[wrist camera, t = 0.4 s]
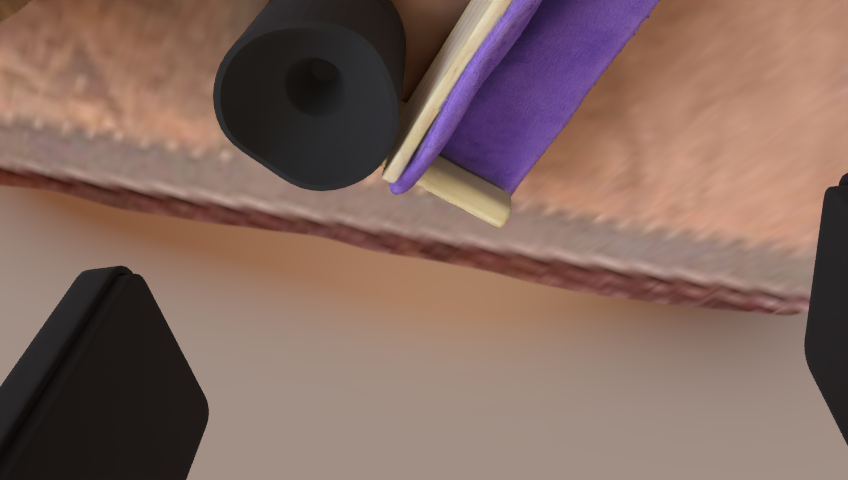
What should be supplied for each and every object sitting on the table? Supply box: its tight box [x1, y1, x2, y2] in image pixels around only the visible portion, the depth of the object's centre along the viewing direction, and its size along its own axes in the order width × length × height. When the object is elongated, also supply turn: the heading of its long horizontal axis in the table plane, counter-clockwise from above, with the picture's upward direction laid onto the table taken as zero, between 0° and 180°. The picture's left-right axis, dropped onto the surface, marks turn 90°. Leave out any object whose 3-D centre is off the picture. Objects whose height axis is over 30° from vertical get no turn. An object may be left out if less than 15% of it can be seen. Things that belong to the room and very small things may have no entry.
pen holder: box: [213, 0, 406, 191], centre depth 42 cm, size 9×9×10 cm
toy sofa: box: [381, 0, 660, 228], centre depth 40 cm, size 21×9×10 cm, turn 150°
